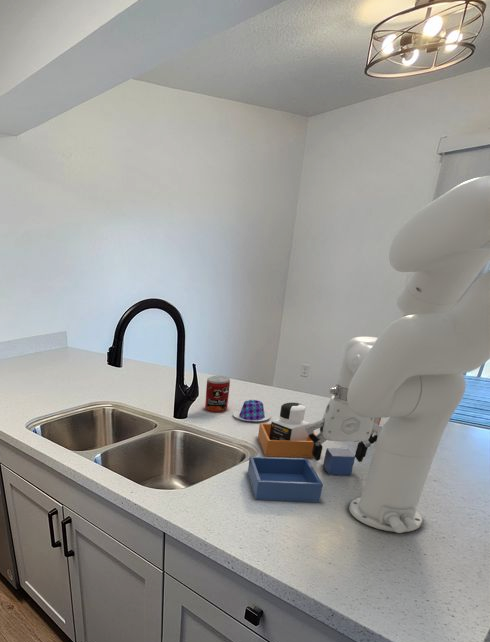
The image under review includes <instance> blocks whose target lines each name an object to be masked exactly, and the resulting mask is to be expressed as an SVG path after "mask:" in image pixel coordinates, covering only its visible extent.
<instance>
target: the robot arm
mask: <svg viewBox="0 0 490 642" xmlns="http://www.w3.org/2000/svg"><path fill="white" fill-rule="evenodd" d="M388 259H389V264H390V266H391V267H392V269H393V270H394V271H397V272H400V273H411V274H410V276H409V278H408V280H406V283H405V284H404V286H403V288H402V289H401V290H400V292H399V294H398V296H397V299H396V300H397V301H396V305H397V307H398V310H399V311H400V312H401V313H402V314H403V315H404V316H402V317H399V318H397V319H395V320H394V321H392V322H391V323H390V324H388V325H387V326H386V327H384V329H383V330H382V331H381V332H380V334H379V336H378V337H376V336H366V335H365V336H356V337H352V338H350V339H349V340H348V341H347V343H346V346H345V349H344V354H343V358H342V362H341V367H340V371H339V376H338V380H337V383H335V386H333V387H330V388H329V390H328V393H329V394H331V397H330V399H329V401H328V403H327V405H326V407H325V410H324V413H323V416H322V419H320V420H318V421H315V422H313V423H310V425H308V426H306V427H305V428H306V431H307V433H308V436H309V437H310V439H311V440H312V441H313V442H314V445H313V450H312V455H313V456H314V457H315V458H314V459H315V461H320V459H321V455H322V452H323V445H322V444H324V443H325V442H326V441H328V442H350V443H351V442H353V443H354V442H356V443H357V442H358V443H357V446H356V450H355V453H354V456H355V459H356V460H357V461H358V462H359V463H362V462H363V460H364V458H365V457H366V455H367V451H368V448H370V447H371V446H372V444H374V443H375V444H374V448H373V451H372V456H371V459H370V463H369V466H368V470H367V473H366V477H365V481H364V485H363V488H362V492H361V495H360V497H356V498H354V499H353V500H351V501H350V502H349V503H350V504H349V506H348V507H349V512H350V514H351V515H352V516H353V517H354V518H355V519H356V520H357V521H359V522H361V523H362V524H364V525H367V526H369V527H371V528H374V529H378V530H380V531H381V530H382V531H386V532H391V533H397V534H402V533H408V532H413V531H416V530H418V529H419V528H420V527H421V525H422V523H423V516H422V515H421V513H420V512H419V511H418V510H417V507H418V505H419V501H420V499H421V495H422V493H423V491H424V487H425V485H426V482H427V479H428V476H429V473H430V470H431V468H432V467H431V466H432V465H433V461H434V458H435V455H436V453H437V450H438V447H439V444H440V442H441V439H442V436H443V434H444V432H445V429H446V427H447V425H448V423H449V421H450V420H451V418H452V417H453V415H454V413H455V412H456V410H457V408H458V407H459V405H460V403H461V402H462V400H463V397H464V395H465V392H466V386H467V385H466V384H467V382H466V378H465V375H464V374H465V373H468V372H472V371H475V370H477V369H479V368H480V367H482V366H483V365H485V364H486V363H487V362H488V361H489V360H490V269H488V270H486V272H485V273H483V274H482V275H481V276H479V278H477V277H478V275H479V274H480V273H481V272H482V270H483V269H484V268H485V266H486V265H487V263H488V262H489V261H490V174H489V175H484V176H479V177H475V178H471V179H469V180H466V181H463V182H462V183H460V184H458V185H456V186H455V187H453V188H452V189H449V190H448V191H446V192H445V193H444V194H442V195H440V196H439V197H437V198H436V199H434V200H432V201H431V202H429V203H428V204H426V205H424V206H423V207H421V208H419V209H418V210H417V211H415V212H414V213H413V214H412V215H411V216H409V218H408V219H406V220H405V221H404V223H403V224H402V225H401V226H400V228H399V229H398V230H397V231H396V233H395V235H394V237H393V238H392V241H391V244H390V247H389V253H388ZM476 278H477V280H475V279H476ZM474 281H475V282H474ZM374 418H381V419H382V418H388V419H387V420H386V422H385V423H384V424H383V425H382V426H381V425H380V424H379V425H377V424H375V423H373V421H374ZM372 429H373V430H375V432H374V434H372V435H371V431H372ZM315 430H319V433H317V434H316V436H315V435H314V433H313V431H314V432H315Z"/></svg>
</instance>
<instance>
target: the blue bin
mask: <svg viewBox="0 0 490 642" xmlns="http://www.w3.org/2000/svg"><path fill="white" fill-rule="evenodd" d="M247 475H248V479H249V482H250V485H251V489H252V493H253V495H254V499H255V500H259V501H261V500H262V501H280V502H281V501H282V502H299V503H301V502H302V503H320V500H321V495H322V491H323V486H324V484H323V482H322V480H321V479H320V477H319V475H318V473H317V472H316V470H315V469H314V466H313V465H312V464H311V462H310V460H309V458H307V457H273V456H249V459H248V467H247Z"/></svg>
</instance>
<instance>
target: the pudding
mask: <svg viewBox="0 0 490 642" xmlns="http://www.w3.org/2000/svg"><path fill="white" fill-rule="evenodd" d="M242 404H243V405H242V407H241V409H238V410H236V411H234V412H233V413H232V416H233V417H235V418H236V419H239V420H242V421H247V422H263V421H267V420H270V419H271V418H272V415H271V413H269V412H267V411H265V407H264V403H263V401H261V400H257V399H248V400H245V401H243V403H242Z"/></svg>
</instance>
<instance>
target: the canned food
mask: <svg viewBox="0 0 490 642" xmlns="http://www.w3.org/2000/svg"><path fill="white" fill-rule="evenodd" d="M206 379H207V380H206V387H205V389H206V390H205V401H204V402H205V403H204V408H205V410H206V411H207V412H211V413H223V412H225V411H227V409H228V403H229V396H230V388H231V387H230V385H231V378H230V377H228V376H224V375H213V376H209V377H207V378H206Z"/></svg>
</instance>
